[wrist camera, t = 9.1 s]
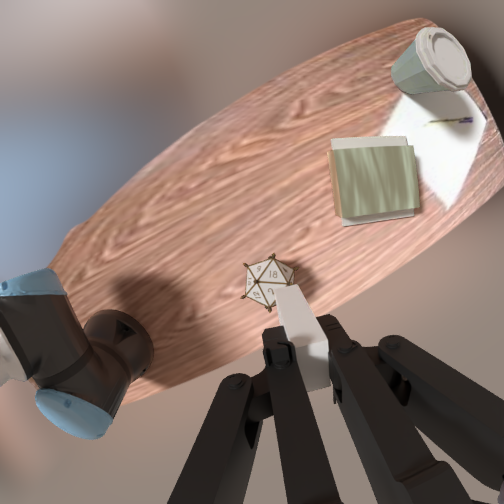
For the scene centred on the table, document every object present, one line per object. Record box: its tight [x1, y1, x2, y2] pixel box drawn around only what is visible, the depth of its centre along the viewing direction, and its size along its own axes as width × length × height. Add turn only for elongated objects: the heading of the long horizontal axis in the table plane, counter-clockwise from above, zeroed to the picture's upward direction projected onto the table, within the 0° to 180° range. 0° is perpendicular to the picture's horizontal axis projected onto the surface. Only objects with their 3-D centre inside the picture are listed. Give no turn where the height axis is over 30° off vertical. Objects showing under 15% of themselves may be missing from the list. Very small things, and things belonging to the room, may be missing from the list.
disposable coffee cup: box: [391, 27, 471, 94], centre depth 29 cm, size 11×11×15 cm
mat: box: [331, 136, 414, 226], centre depth 41 cm, size 14×14×1 cm
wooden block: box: [327, 146, 420, 218], centre depth 39 cm, size 4×10×14 cm
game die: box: [240, 253, 299, 313], centre depth 41 cm, size 9×8×10 cm
